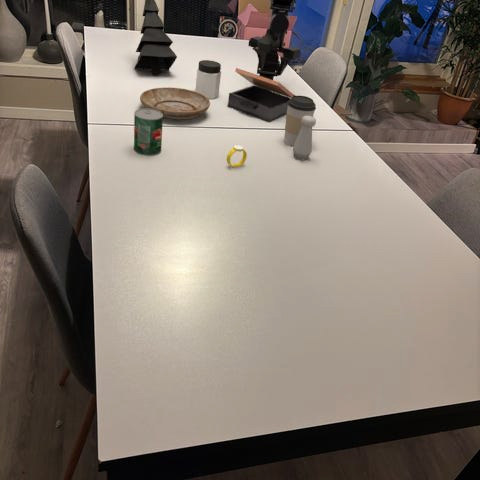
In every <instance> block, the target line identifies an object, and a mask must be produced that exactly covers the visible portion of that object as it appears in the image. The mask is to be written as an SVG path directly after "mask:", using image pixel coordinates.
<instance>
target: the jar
mask: <svg viewBox="0 0 480 480" xmlns="http://www.w3.org/2000/svg"><path fill="white" fill-rule="evenodd" d="M221 64H222V63H220V62H217V61H215V60H209V59H202V60H199V62H198V68H197V70H196V79H195V81H196V82H195V90H194V91H195V92H198V93H200V94H202V95H204V96H205V97H207V98H208V99H209V100H215V99H216V98H217V97H219V95H220V85H221V76H222V71H221V69H222V65H221Z"/></svg>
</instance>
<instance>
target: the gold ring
mask: <svg viewBox="0 0 480 480" xmlns="http://www.w3.org/2000/svg"><path fill="white" fill-rule="evenodd" d="M236 152H242V158H241V160H240V161H239V162H238V163H232V162H231V158H232V156H233V155H234V153H236ZM247 156H248V155H247V152H246V149H244V147H243V146H242V145H239V144H237V145H234V146H233V148H231V150H230V151H229V152H228V153H227V155H226V162H227V164H228V165H229V166H230V167H232V168H236V167H242V166H243V165H244V164H245V162H246V160H247ZM231 163H232V164H231Z"/></svg>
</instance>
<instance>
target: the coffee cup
mask: <svg viewBox="0 0 480 480" xmlns="http://www.w3.org/2000/svg"><path fill="white" fill-rule="evenodd" d="M287 104H288V109H287V114H286V115H285V125H284V126H285V127H284V130H285V131H284V136H283V143H284V144H285V145H286V146H289V147H292V148H293V146H294V144H295V142H296V139H297V137H298V134H299V132H300V129H301V127H302V123H301V119H302V117H303V116H312V117H314V114H315V111H316V109H317V106H316V103H315V102H314V99H313V98H311V97H310V96H305V95H296V94H294V95H293V97H292V98H291V99H290V100H289V102H288V103H287Z"/></svg>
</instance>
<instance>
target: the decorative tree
mask: <svg viewBox="0 0 480 480" xmlns="http://www.w3.org/2000/svg"><path fill="white" fill-rule="evenodd" d="M159 11H160V9H159V6H158V4H157V2H156V0H144V7H143V12H142V17H144V18H143V20H142V21H143V22H142V26H141V30H140V34H141V35H142V36H141V38H140V41H139V43H138V45H137V48H136V50H135V53H139V55H138V56H137V62H136V64H135V65H134V68H133V69H134V70H135V69H137V70H151V74H152V75H154V76H159V75H161V74H162V70H163V71H164V70H166V71H169V70H170V69H171V68H172V66H173V64H174V63H175V61H176V60H177V58H178V56H177V54H176V53H175V51H173V50H172V47H171V45H172V44H173V43H174V41H173V40H172V39H171V38H170V37H169V36H168V34H167V33H166V32H165V31H164V28H165V24H164V22H163V20H162V19H161V17H160V16H159V13H160V12H159Z"/></svg>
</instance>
